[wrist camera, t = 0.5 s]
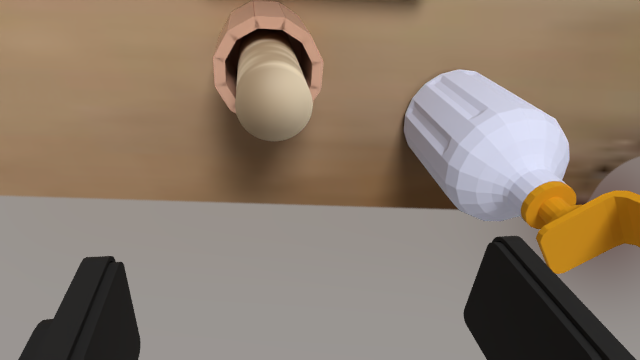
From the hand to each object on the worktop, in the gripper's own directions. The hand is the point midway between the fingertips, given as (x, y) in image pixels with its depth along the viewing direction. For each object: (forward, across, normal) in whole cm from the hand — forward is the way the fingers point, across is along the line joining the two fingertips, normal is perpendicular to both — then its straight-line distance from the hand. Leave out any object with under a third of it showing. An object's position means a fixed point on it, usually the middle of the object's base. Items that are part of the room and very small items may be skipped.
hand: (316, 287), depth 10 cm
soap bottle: (+25, -17, +5) cm, 31 cm away
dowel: (+25, 0, 0) cm, 25 cm away
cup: (+25, 0, 0) cm, 25 cm away
